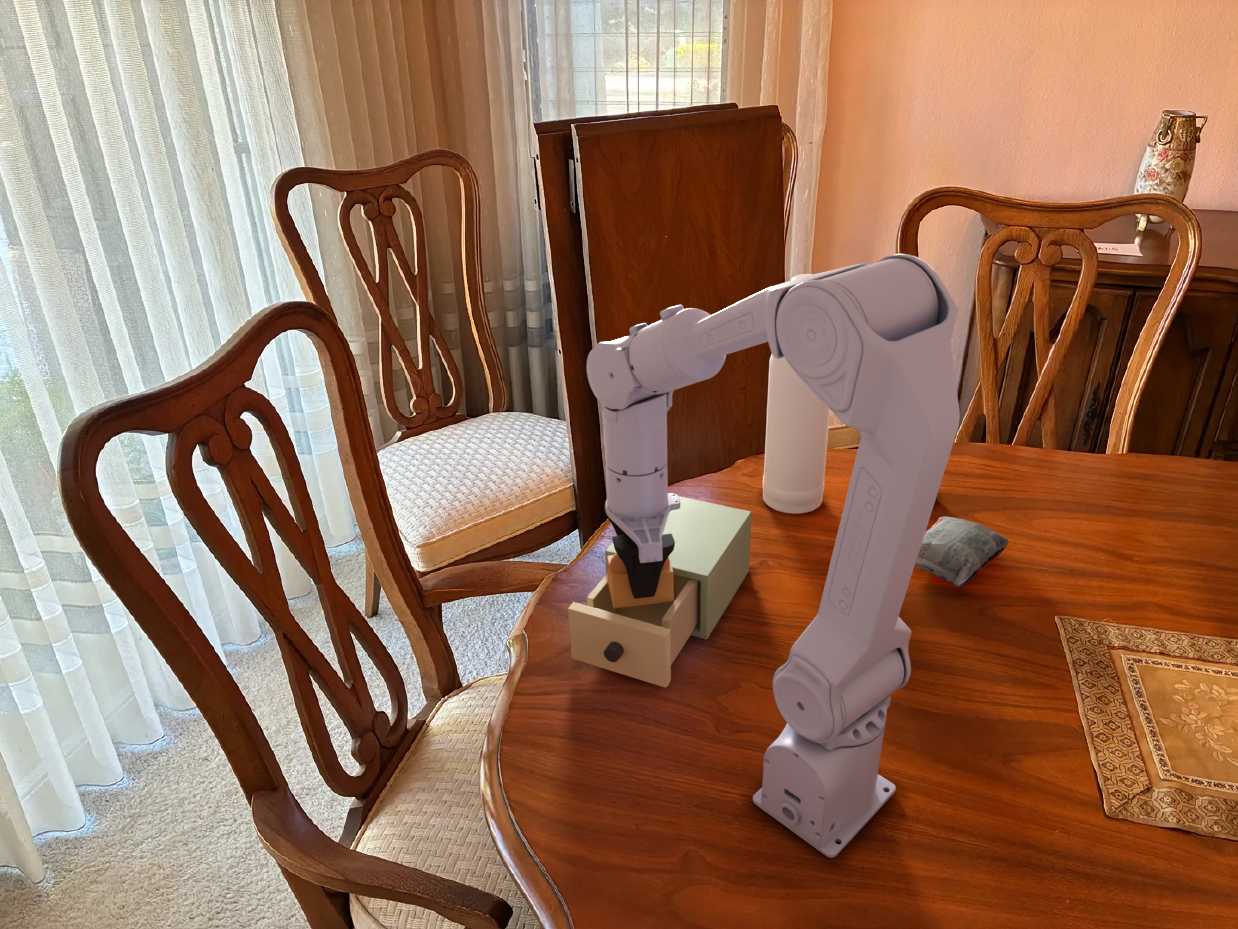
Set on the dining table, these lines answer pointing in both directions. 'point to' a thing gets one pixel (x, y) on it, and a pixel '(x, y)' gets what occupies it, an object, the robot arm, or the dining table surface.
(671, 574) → the light brown block
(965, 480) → the dining table surface
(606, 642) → the wooden pull-out drawer
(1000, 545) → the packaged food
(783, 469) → the bottle
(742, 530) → the drawer cabinet
